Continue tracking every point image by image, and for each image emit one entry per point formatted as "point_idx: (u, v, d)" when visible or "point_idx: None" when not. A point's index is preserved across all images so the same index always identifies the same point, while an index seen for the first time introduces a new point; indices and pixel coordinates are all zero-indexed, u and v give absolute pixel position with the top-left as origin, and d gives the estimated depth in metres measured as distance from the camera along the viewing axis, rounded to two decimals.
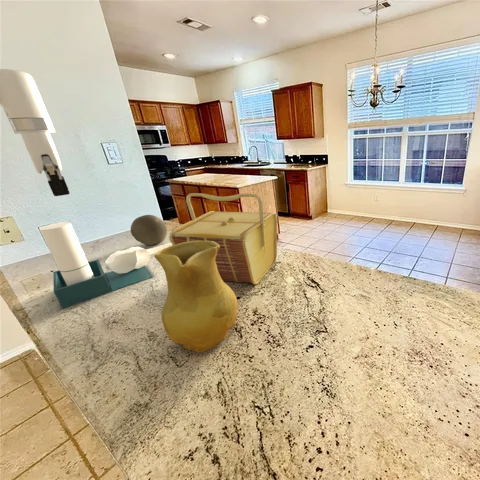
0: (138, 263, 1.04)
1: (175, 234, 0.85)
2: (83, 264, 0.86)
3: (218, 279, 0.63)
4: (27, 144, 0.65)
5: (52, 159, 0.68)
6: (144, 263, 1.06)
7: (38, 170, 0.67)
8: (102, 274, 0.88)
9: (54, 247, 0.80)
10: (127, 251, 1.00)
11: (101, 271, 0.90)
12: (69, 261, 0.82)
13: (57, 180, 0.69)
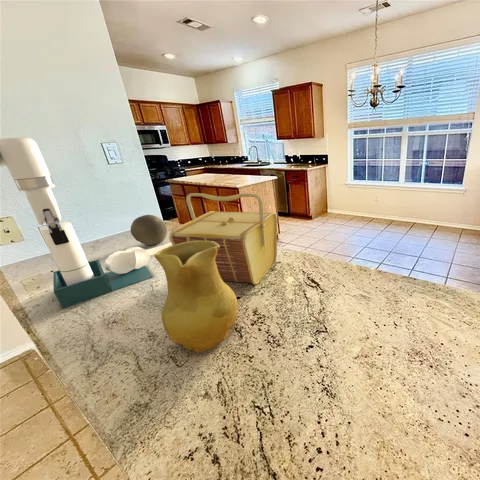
0: (138, 263, 1.04)
1: (175, 234, 0.85)
2: (83, 264, 0.86)
3: (218, 279, 0.63)
4: (30, 201, 0.73)
5: (52, 212, 0.76)
6: (144, 263, 1.06)
7: (40, 223, 0.75)
8: (102, 274, 0.88)
9: (54, 247, 0.80)
10: (126, 251, 1.00)
11: (101, 271, 0.90)
12: (69, 261, 0.82)
13: (58, 231, 0.78)
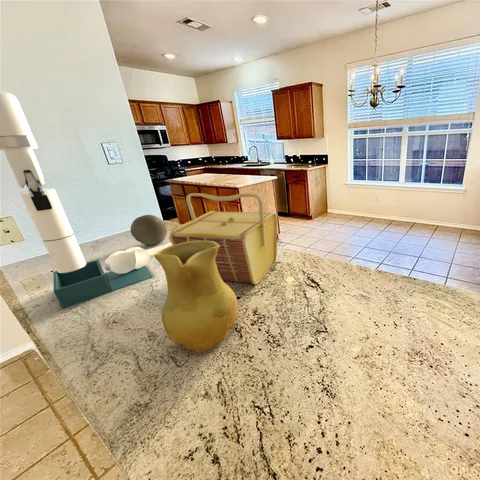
0: (138, 263, 1.04)
1: (175, 234, 0.85)
2: (68, 234, 0.81)
3: (218, 279, 0.63)
4: (10, 161, 0.68)
5: (34, 174, 0.71)
6: (144, 263, 1.06)
7: (20, 185, 0.70)
8: (102, 274, 0.88)
9: (36, 214, 0.75)
10: (126, 251, 1.00)
11: (101, 271, 0.90)
12: (52, 230, 0.77)
13: (40, 196, 0.73)
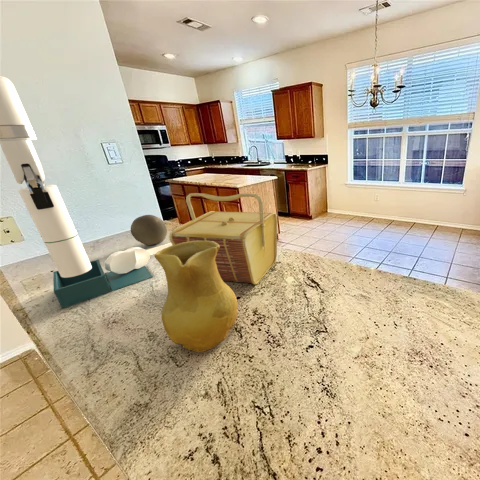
0: (138, 263, 1.04)
1: (175, 234, 0.85)
2: (71, 235, 0.73)
3: (218, 279, 0.63)
4: (6, 153, 0.60)
5: (33, 169, 0.64)
6: (144, 263, 1.06)
7: (18, 180, 0.63)
8: (102, 274, 0.88)
9: (36, 213, 0.67)
10: (126, 251, 1.00)
11: (101, 271, 0.90)
12: (55, 230, 0.70)
13: (40, 193, 0.66)
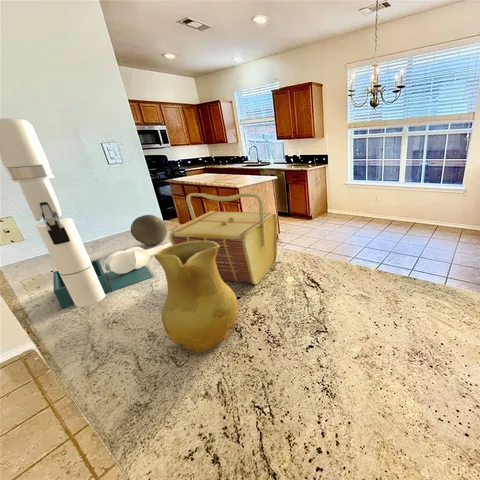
0: (138, 263, 1.04)
1: (175, 234, 0.85)
2: (86, 266, 0.75)
3: (218, 279, 0.63)
4: (25, 193, 0.62)
5: (51, 206, 0.66)
6: (144, 263, 1.06)
7: (36, 218, 0.64)
8: (102, 274, 0.88)
9: (53, 247, 0.69)
10: (126, 251, 1.00)
11: (101, 271, 0.90)
12: (70, 263, 0.72)
13: (57, 229, 0.67)
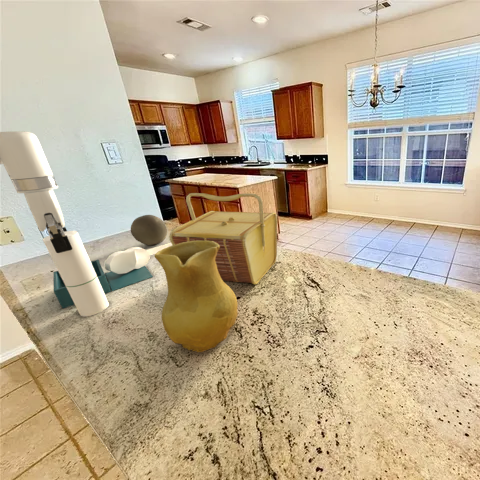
0: (138, 263, 1.04)
1: (175, 234, 0.85)
2: (91, 278, 0.77)
3: (218, 279, 0.63)
4: (30, 204, 0.63)
5: (55, 217, 0.67)
6: (144, 263, 1.06)
7: (41, 229, 0.66)
8: (102, 274, 0.88)
9: (59, 260, 0.71)
10: (126, 251, 1.00)
11: (101, 271, 0.90)
12: (76, 275, 0.73)
13: (60, 237, 0.68)
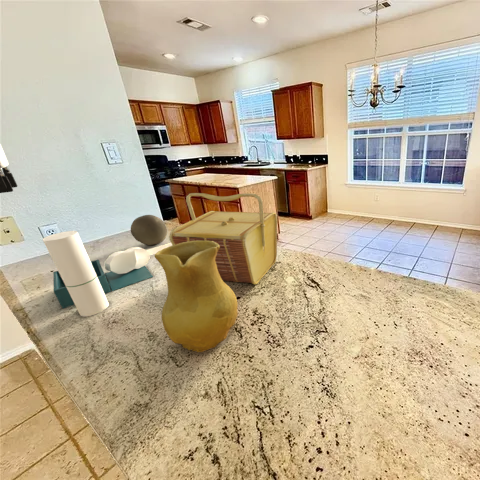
0: (138, 263, 1.04)
1: (175, 234, 0.85)
2: (91, 278, 0.77)
3: (218, 279, 0.63)
4: None
5: None
6: (144, 263, 1.06)
7: None
8: (102, 274, 0.88)
9: (59, 260, 0.71)
10: (126, 251, 1.00)
11: (101, 271, 0.90)
12: (76, 275, 0.73)
13: None
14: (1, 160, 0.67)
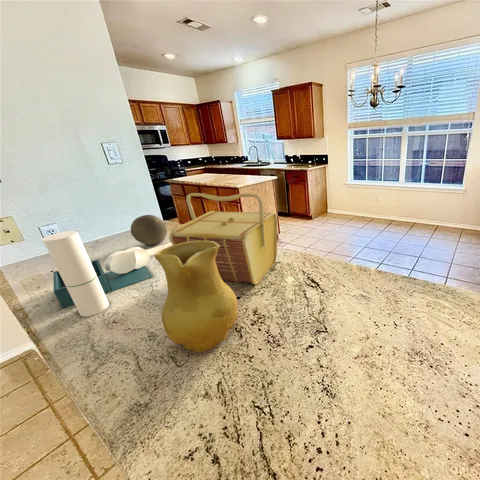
0: (138, 263, 1.04)
1: (175, 234, 0.85)
2: (91, 278, 0.77)
3: (218, 279, 0.63)
4: None
5: None
6: (144, 263, 1.06)
7: None
8: (102, 274, 0.88)
9: (59, 260, 0.71)
10: (126, 251, 1.00)
11: (101, 271, 0.90)
12: (76, 275, 0.73)
13: None
14: None
